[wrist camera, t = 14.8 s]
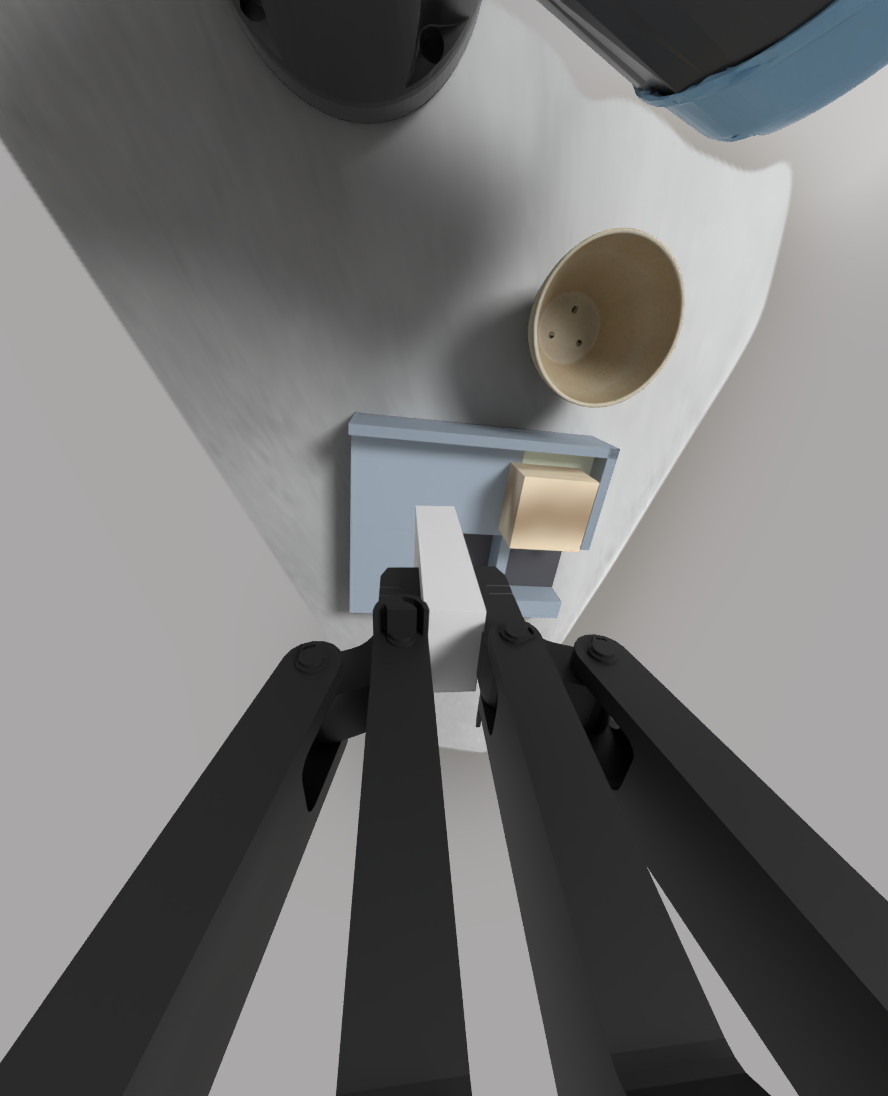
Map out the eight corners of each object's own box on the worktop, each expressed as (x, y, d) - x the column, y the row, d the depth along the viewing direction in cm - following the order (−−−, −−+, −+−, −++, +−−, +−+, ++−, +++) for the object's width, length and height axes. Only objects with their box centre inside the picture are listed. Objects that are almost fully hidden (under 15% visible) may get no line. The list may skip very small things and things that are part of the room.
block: (510, 462, 33) (524, 476, 30) (578, 468, 34) (599, 482, 31) (498, 527, 36) (509, 548, 32) (560, 531, 37) (578, 551, 33)
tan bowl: (573, 418, 35) (613, 434, 29) (481, 351, 32) (503, 353, 25) (653, 306, 32) (717, 297, 25) (559, 219, 28) (606, 183, 22)
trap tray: (354, 412, 33) (348, 423, 28) (592, 436, 36) (619, 449, 32) (352, 595, 41) (347, 625, 36) (546, 601, 44) (564, 630, 39)
